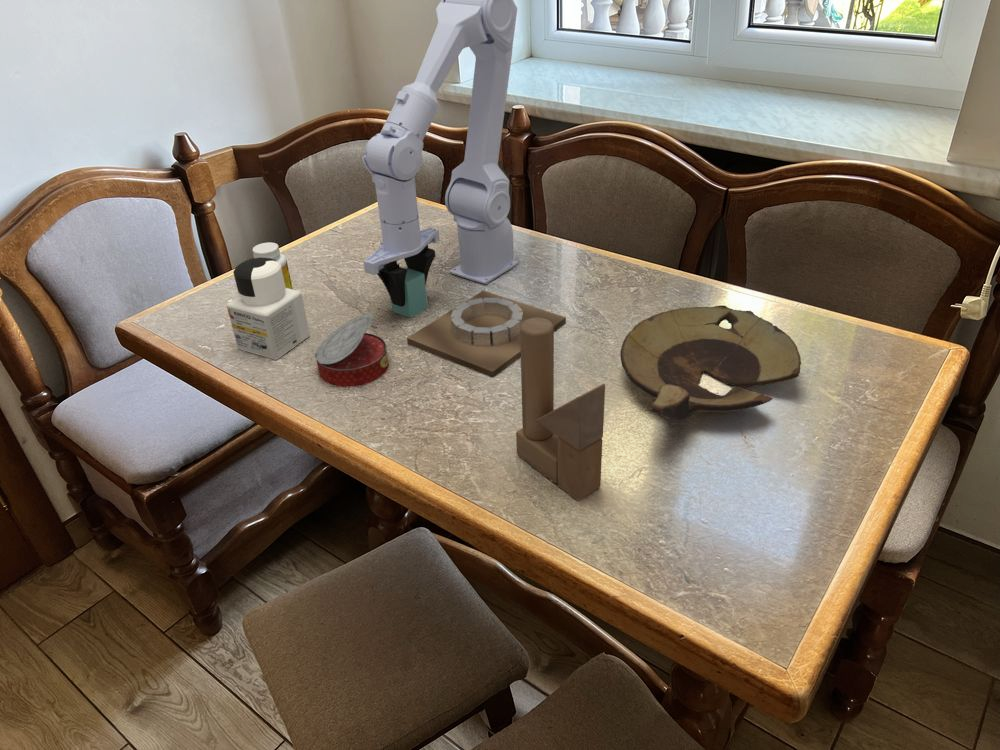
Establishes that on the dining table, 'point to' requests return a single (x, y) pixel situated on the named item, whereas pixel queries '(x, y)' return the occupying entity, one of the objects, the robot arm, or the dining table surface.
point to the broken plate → (706, 359)
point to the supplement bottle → (273, 252)
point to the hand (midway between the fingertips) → (408, 298)
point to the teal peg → (413, 294)
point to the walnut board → (477, 358)
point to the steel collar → (483, 334)
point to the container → (266, 310)
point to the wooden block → (557, 418)
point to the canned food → (352, 354)
